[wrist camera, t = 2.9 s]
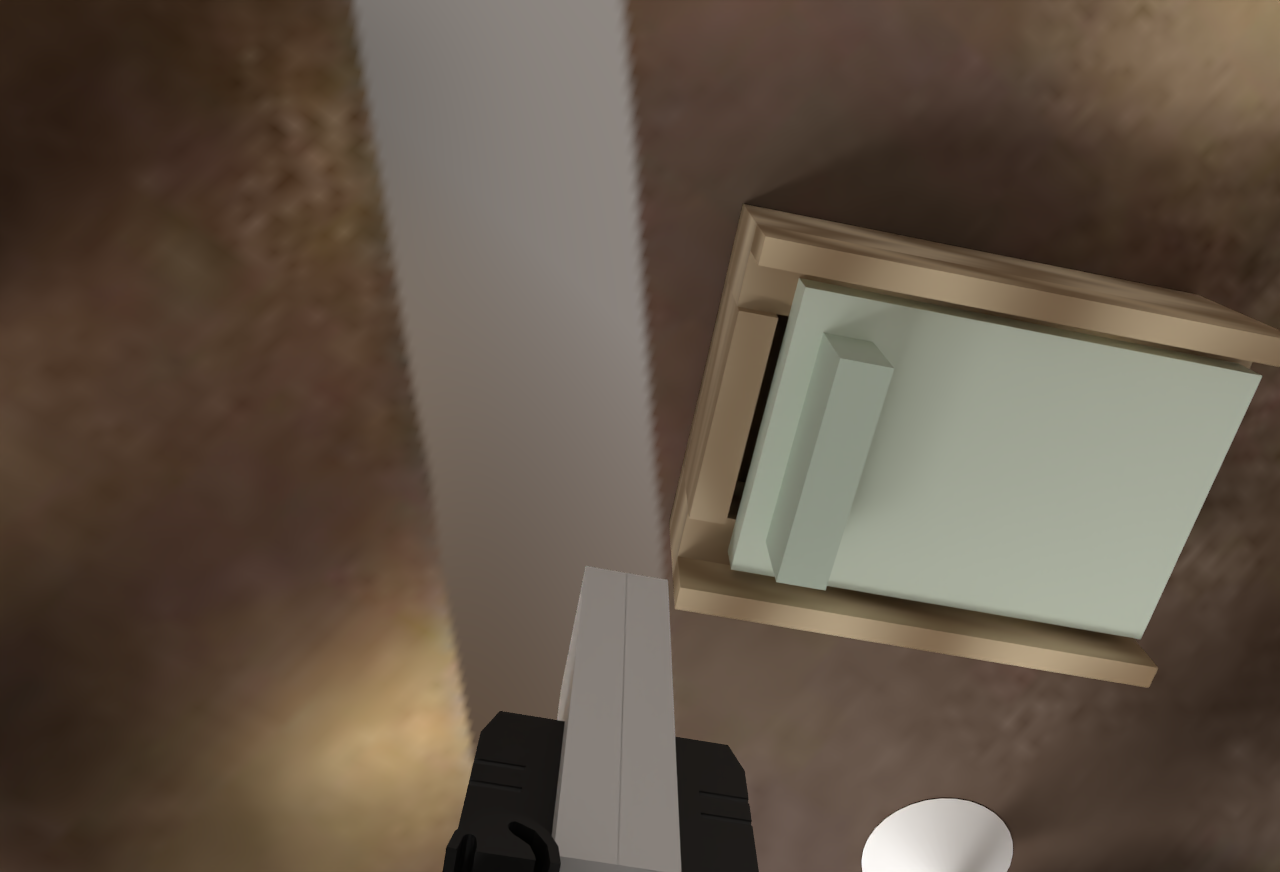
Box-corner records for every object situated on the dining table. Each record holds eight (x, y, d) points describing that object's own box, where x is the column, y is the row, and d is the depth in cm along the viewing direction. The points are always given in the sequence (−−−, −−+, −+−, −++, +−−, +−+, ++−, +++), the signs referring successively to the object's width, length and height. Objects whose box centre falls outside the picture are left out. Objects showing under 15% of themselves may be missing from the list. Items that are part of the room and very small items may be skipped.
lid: (727, 551, 32) (738, 611, 28) (798, 278, 28) (821, 309, 25) (1123, 619, 33) (1180, 685, 29) (1238, 363, 29) (1318, 404, 26)
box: (669, 522, 36) (674, 608, 30) (742, 203, 31) (765, 236, 26) (1071, 592, 37) (1149, 687, 31) (1197, 294, 33) (1312, 344, 27)
